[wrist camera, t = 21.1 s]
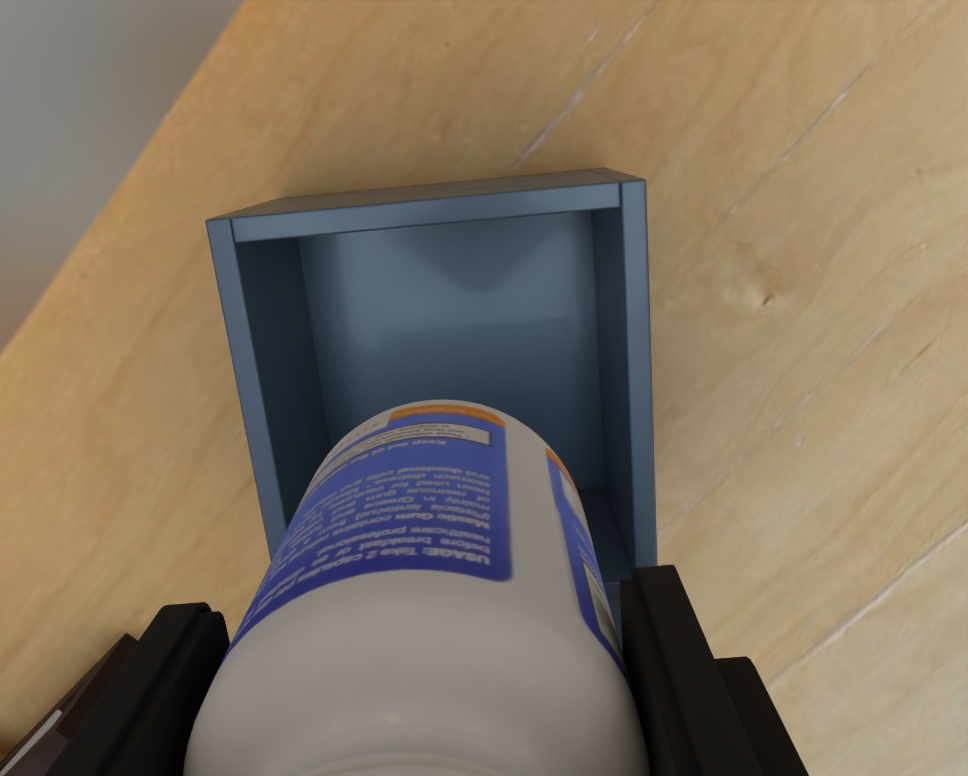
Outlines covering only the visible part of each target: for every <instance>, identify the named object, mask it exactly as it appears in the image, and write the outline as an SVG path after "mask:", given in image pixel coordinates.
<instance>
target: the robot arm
mask: <svg viewBox="0 0 968 776" xmlns="http://www.w3.org/2000/svg"><path fill="white" fill-rule="evenodd" d="M619 590H620V610H621V630H622V650H623V658H624V661H625V665H626V668H627V672H628V675H629V678H630V682H631V686H632V690H633V694H634V698H635V702H636V705H637V709H638V712H639V717H640V722H641V725H642V729H643V733H644V737H645V742H646V746H647V750H648V754H649V759H650V769H651V776H809V775H808V773H807V771H806V769H805V767H804V765H803V763H802V761H801V759H800V757H799V755H798V753H797V751H796V749H795V747H794V745H793V743H792V741H791V738H790V736H789V734H788V732H787V730H786V728H785V726H784V724H783V722H782V720H781V718H780V716H779V714H778V712H777V710H776V708H775V706H774V704H773V702H772V700H771V698H770V696H769V694H768V692H767V690H766V688H765V686H764V684H763V682H762V680H761V678H760V676H759V674H758V672H757V670H756V668H755V666H754V665H753V663H752V661H751V660H750V659H749V658H747V657H733V658H720V659H714V657H713V655H712V652H711V650H710V648H709V645H708V643H707V641H706V638H705V636H704V634H703V631H702V629H701V627H700V624H699V622H698V620H697V617H696V615H695V613H694V610H693V608H692V605H691V603H690V601H689V598H688V596H687V594H686V591H685V589H684V587H683V584H682V582H681V580H680V577H679V575H678V573H677V570H676V568H675V566H674V565H663V566H650V567H638V568H634V569H633V578H632V579H620V583H619ZM229 647H230V642H229V637H228V633H227V628H226V624H225V620H224V617H223V615H222V613H221V612H219V611H217V612H212V610H211V608H210V607H209V605H208V604H207V603H205V602H200V603H188V604H175V605H166V606H163V607H162V608H161V609H160V611H159V612H158V613H157V615H156V616H155V618H154V619H153V621H152V622H151V624H150V625H149V626H148V628H147V629H146V631H145V632H144V634H143V635H142V636H141V638H140V639H139V641H138V642H137V644H136V645H135V646H134V648H133V649H132V651H131V652H130V654H129V655H128V657H127V658H126V659H125V661H124V662H123V664H122V665H121V667H120V668H119V669H118V671H117V672H116V674H115V675H114V677H113V678H112V680H111V681H110V682H109V684H108V685H107V687H106V688H105V690H104V691H103V692H102V694H101V695H100V697H99V698H98V700H97V701H96V703H95V704H94V705H93V707H92V708H91V710H90V711H89V713H88V714H87V715H86V717H85V718H84V720H83V721H82V723H81V724H80V726H79V727H78V728H77V730H76V731H75V733H74V734H73V736H72V737H71V738H70V740H69V741H68V743H67V744H66V746H65V747H64V749H63V750H62V751H61V753H60V754H59V756H58V757H57V759H56V760H55V761H54V763H53V764H52V766H51V767H50V769H49V770H48V772H47V773H46V774H45V776H183V769H184V762H185V756H186V751H187V746H188V741H189V738H190V735H191V732H192V729H193V725H194V722H195V719H196V717H197V715H198V713H199V710H200V708H201V706H202V704H203V701H204V699H205V697H206V695H207V693H208V690H209V688H210V686H211V684H212V681H213V679H214V677H215V675H216V673H217V671H218V669H219V667H220V665H221V663H222V660H223V658H224V657H225V655H226V653H227V651H228V649H229Z"/></svg>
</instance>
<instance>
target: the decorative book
mask: <svg viewBox="0 0 968 776" xmlns="http://www.w3.org/2000/svg"><path fill="white" fill-rule="evenodd" d="M136 644H137V641H136V640H134V639H133V638H131V637H130V636H129V635H127V634H125V635H124V636H123V637H122V638H121V639H120V640H119V641H118V642H117V643H116V644H115V645H114V646H113V647H112V648H111V649H110V650H109V651H108V652H107V653H106V654H105V655H104V656H103V657H102V658H101V659H100V660H99V661H98V662H97V663H96V664H95V665H94V666H93V667H92V669H91V670H90V671H89V672H88V673H87V674H86V675H85V676H84V677H83V678H82V679H81V680H80V681H79V682H78V683H77V684H76V685H75V686H74V687H73V688H72V689H71V690H70V691H69V692H68V693H67V694H66V695H65V696H64V697H63V698H62V699H61V700H60V701H59V702H58V703H57V704H56V705H55V706H54V707H53V708H52V709H51V711H50V712H49V713H48V714H47V715H46V716H45V717H44V718H43V719H42V720H41V721H40V722H39V723H38V724H37V725H36V726H35V727H34V728H33V729H32V730H31V731H30V732H29V733H28V734H27V735H26V736H25V737H24V738H23V739H22V740H21V741H20V742H19V743H18V744H17V745H16V746H15V747H14V748H13V749H12V750H11V751H10V753H9V754H8V755H7V756H6V757H5V758H4V759H3V760H2V761H1V762H0V776H45V774H46V773H47V772H48V770H49V769H50V767H51V766H52V764H53V763H54V761H55V760H56V759H57V757H58V756H59V754H60V753H61V751H62V750H63V749H64V747H65V746H66V744H67V743H68V741H69V740H70V738H71V737H72V736H73V734H74V733H75V731H76V730H77V728H78V727H79V726H80V724H81V723H82V721H83V720H84V718H85V717H86V715H87V714H88V713H89V711H90V710H91V708H92V707H93V705H94V704H95V703H96V701H97V700H98V698H99V697H100V695H101V694H102V692H103V691H104V690H105V688H106V687H107V685H108V684H109V682H110V681H111V680H112V678H113V677H114V675H115V674H116V672H117V671H118V669H119V668H120V667H121V665H122V664H123V662H124V661H125V659H126V658H127V657H128V655H129V654H130V652H131V651H132V649H133V648H134V646H135V645H136Z"/></svg>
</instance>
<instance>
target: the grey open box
mask: <svg viewBox="0 0 968 776" xmlns="http://www.w3.org/2000/svg"><path fill="white" fill-rule="evenodd" d="M206 227H207V232H208V238H209V243H210V248H211V253H212V258H213V263H214V269H215V274H216V279H217V284H218V289H219V295H220V300H221V305H222V310H223V315H224V321H225V326H226V331H227V336H228V341H229V347H230V352H231V357H232V362H233V367H234V373H235V378H236V383H237V388H238V393H239V399H240V404H241V409H242V414H243V419H244V425H245V430H246V435H247V440H248V445H249V450H250V456H251V461H252V466H253V471H254V476H255V482H256V487H257V492H258V497H259V502H260V508H261V513H262V518H263V523H264V528H265V534H266V539H267V544H268V549H269V554H270V560H271V562H272V560H273V558H274V556H275V554H276V552H277V550H278V548H279V546H280V544H281V542H282V540H283V538H284V536H285V533H286V531H287V529H288V527H289V525H290V523H291V521H292V519H293V517H294V515H295V513H296V511H297V509H298V507H299V505H300V503H301V501H302V499H303V497H304V495H305V493H306V491H307V489H308V487H309V485H310V483H311V481H312V479H313V477H314V475H315V473H316V472H317V470H318V469H319V467H320V466H321V464H322V463H323V461H324V460H325V458H326V457H327V455H328V454H329V453H330V451H331V450H332V449H333V448H334V447H335V446H336V444H337V443H338V442H339V441H340V440H341V439H342V438H343V437H345V436H346V435H347V434H348V433H350V432H351V431H352V430H353V429H355V428H356V427H358V426H359V425H360V424H362V423H364V422H365V421H367V420H369V419H370V418H372V417H374V416H376V415H378V414H380V413H382V412H384V411H386V410H389V409H392V408H394V407H398V406H401V405H404V404H409V403H413V402H419V401H426V400H460V401H467V402H472V403H477V404H482V405H485V406H487V407H490V408H493V409H496V410H498V411H501V412H503V413H505V414H507V415H509V416H511V417H513V418H515V419H516V420H518V421H520V422H521V423H523V424H524V425H526V426H527V427H529V428H530V429H531V430H532V431H533V432H535V433H536V434H537V435H538V436H539V437H540V438H541V439H542V440H544V441H545V442H546V443H547V444H548V446H549V447H550V448H551V449H552V450H553V451H554V453H555V454H556V455H557V456H558V458H559V459H560V460H561V462H562V463H563V465H564V466H565V468H566V470H567V471H568V473H569V475H570V477H571V479H572V480H573V483H574V485H575V488H576V490H577V493H578V495H579V498H580V500H581V503H582V507H583V510H584V514H585V517H586V521H587V525H588V529H589V532H590V536H591V540H592V544H593V548H594V552H595V556H596V560H597V564H598V567H599V571H600V575H601V578H602V582H603V586H604V589H605V593H606V596H607V600H614V599H620V590H619V583H620V579H632V578H633V569H634V568H638V567H650V566H657V534H656V500H655V467H654V433H653V399H652V365H651V332H650V298H649V264H648V231H647V197H646V180H645V179H642V178H639V177H635V176H632V175H628V174H624V173H621V172H617V171H614V170H610V169H608V168H597V169H586V170H575V171H565V172H554V173H543V174H533V175H522V176H511V177H501V178H490V179H479V180H469V181H458V182H447V183H437V184H426V185H415V186H405V187H394V188H383V189H373V190H362V191H351V192H341V193H330V194H320V195H309V196H298V197H288V198H278V199H274V200H271V201H268V202H264V203H261V204H258V205H254V206H251V207H247V208H244V209H241V210H237V211H234V212H231V213H227V214H224V215H220V216H217V217H214V218H210V219H207V220H206Z"/></svg>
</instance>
